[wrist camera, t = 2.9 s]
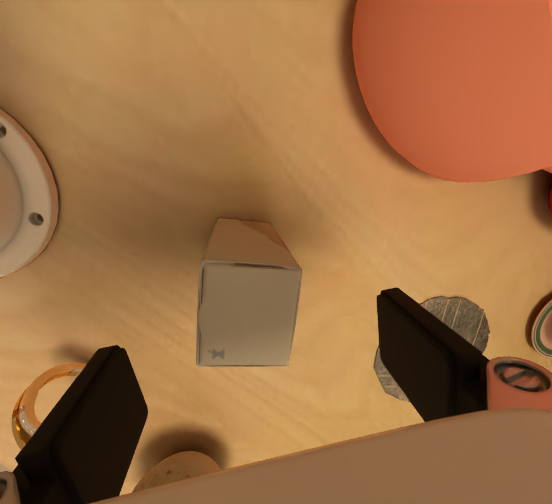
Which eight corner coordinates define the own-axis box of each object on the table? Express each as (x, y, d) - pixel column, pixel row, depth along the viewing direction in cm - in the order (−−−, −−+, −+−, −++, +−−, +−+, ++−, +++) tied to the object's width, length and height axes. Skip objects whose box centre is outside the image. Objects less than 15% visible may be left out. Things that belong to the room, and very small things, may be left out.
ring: (147, 382, 25) (110, 477, 17) (122, 405, 25) (75, 508, 18) (77, 335, 23) (0, 419, 15) (51, 360, 23) (-38, 455, 16)
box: (264, 281, 24) (288, 374, 13) (211, 278, 23) (193, 374, 13) (272, 219, 22) (305, 268, 12) (215, 213, 22) (198, 260, 11)
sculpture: (471, 273, 27) (549, 352, 23) (442, 303, 35) (496, 366, 31) (360, 336, 26) (420, 429, 22) (356, 352, 34) (400, 423, 30)
